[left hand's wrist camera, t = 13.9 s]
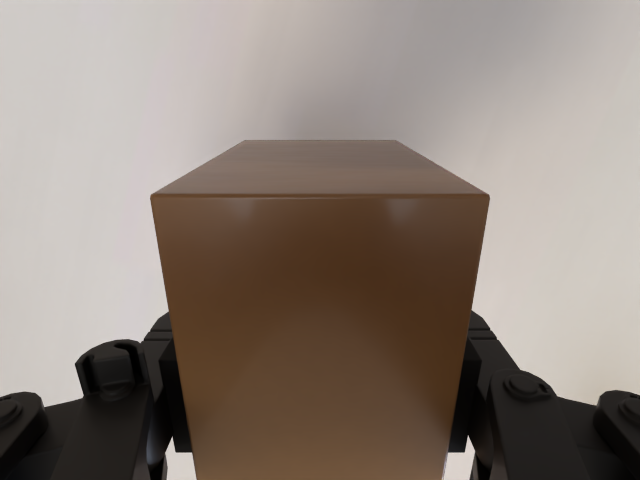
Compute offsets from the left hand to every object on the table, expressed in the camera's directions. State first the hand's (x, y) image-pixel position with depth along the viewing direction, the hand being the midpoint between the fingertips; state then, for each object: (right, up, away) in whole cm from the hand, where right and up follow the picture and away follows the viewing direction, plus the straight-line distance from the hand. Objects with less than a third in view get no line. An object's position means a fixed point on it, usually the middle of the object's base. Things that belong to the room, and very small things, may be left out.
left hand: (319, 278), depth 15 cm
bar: (0, -22, +9) cm, 23 cm away
